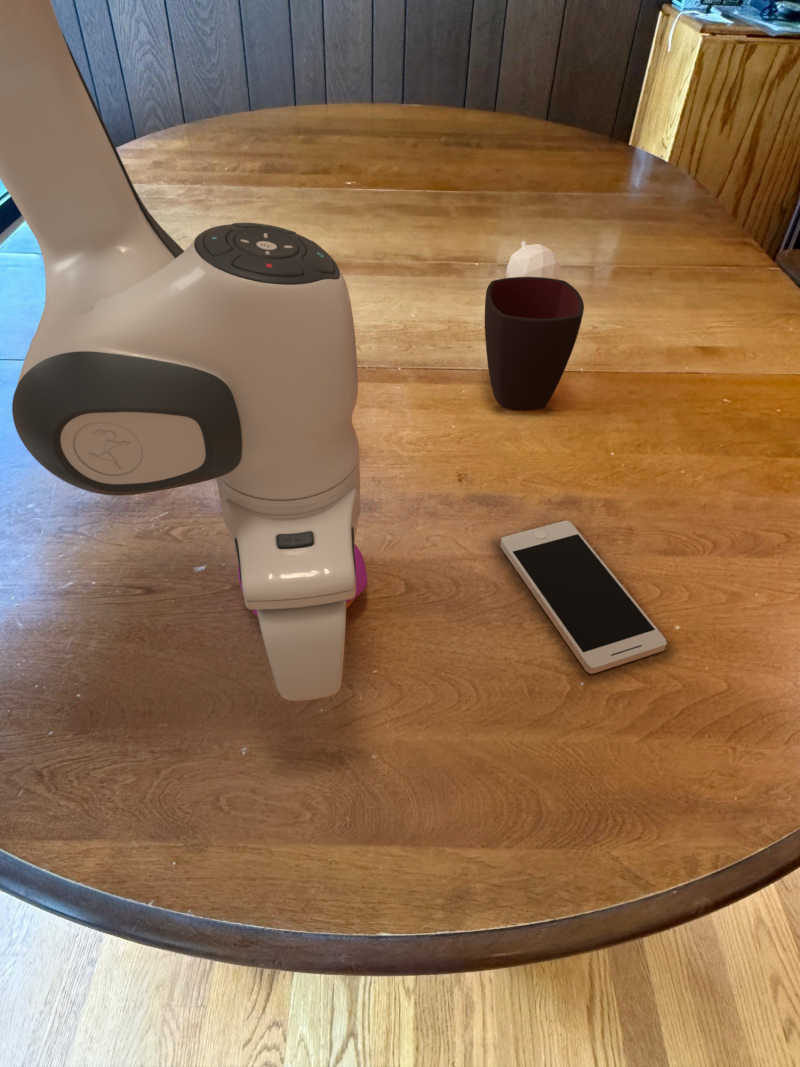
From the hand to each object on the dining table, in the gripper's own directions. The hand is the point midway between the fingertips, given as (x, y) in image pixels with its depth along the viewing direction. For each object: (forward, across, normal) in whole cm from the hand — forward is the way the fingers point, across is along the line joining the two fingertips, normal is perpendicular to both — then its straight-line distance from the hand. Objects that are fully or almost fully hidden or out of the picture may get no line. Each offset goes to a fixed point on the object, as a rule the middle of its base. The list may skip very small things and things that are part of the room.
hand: (304, 631), depth 59 cm
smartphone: (+3, -3, +23) cm, 23 cm away
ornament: (+3, -57, +35) cm, 67 cm away
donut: (+3, -6, 0) cm, 7 cm away
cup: (+3, -35, +27) cm, 44 cm away
